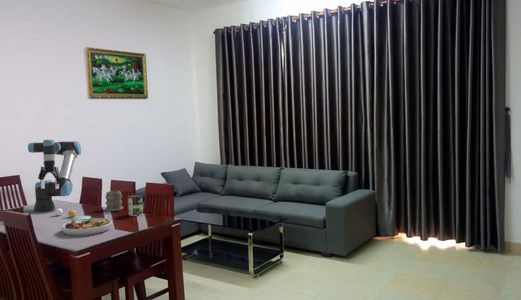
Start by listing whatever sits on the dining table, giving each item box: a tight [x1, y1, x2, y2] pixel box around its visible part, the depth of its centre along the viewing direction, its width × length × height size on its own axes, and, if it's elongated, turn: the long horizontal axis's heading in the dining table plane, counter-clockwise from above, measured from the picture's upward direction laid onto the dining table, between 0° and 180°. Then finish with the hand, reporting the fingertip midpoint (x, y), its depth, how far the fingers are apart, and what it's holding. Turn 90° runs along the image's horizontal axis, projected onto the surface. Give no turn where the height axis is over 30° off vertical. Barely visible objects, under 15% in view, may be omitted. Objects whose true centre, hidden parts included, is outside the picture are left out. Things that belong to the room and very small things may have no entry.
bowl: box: [61, 217, 113, 237], centre depth 275 cm, size 30×30×8 cm
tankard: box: [104, 190, 124, 212], centre depth 338 cm, size 20×13×15 cm, turn 40°
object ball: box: [67, 209, 77, 218], centre depth 314 cm, size 6×6×6 cm
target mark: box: [69, 215, 92, 221], centre depth 310 cm, size 14×14×1 cm
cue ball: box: [54, 207, 64, 216], centre depth 321 cm, size 6×6×6 cm
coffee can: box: [127, 194, 144, 217], centre depth 319 cm, size 10×10×14 cm
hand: (50, 188), depth 322 cm, fingers open, 13 cm apart
